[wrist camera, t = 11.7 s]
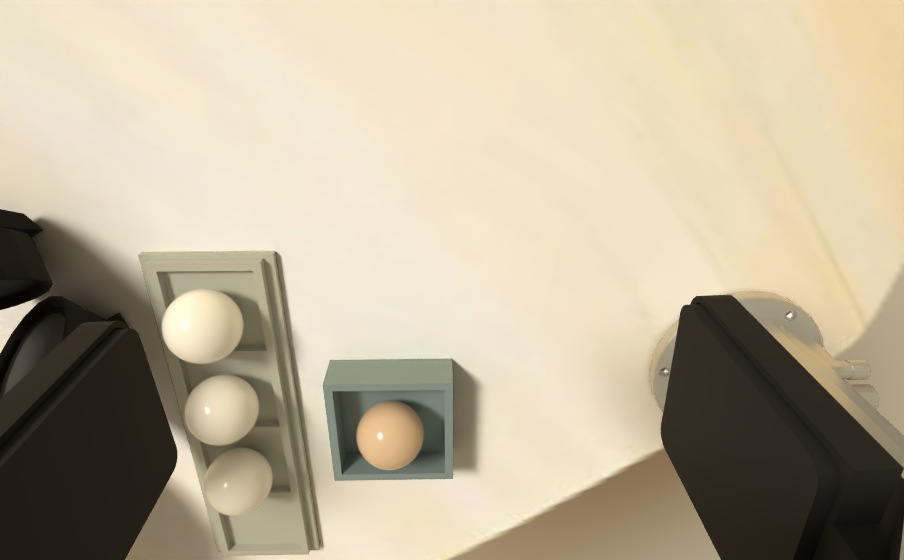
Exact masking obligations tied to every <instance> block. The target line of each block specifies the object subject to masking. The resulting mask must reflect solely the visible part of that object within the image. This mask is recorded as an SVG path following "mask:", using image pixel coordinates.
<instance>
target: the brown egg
mask: <svg viewBox="0 0 904 560" xmlns="http://www.w3.org/2000/svg"><path fill="white" fill-rule="evenodd" d="M356 438H357V445H358V448H359V451H360V453H361V454H362V456H363V457H364V459H365V460H366V461H367V462H368V463H370V464H371V465H373V466H374V467H376V468H379V469H383V470H396V469H400V468H402V467H404V466H406V465H408V464H409V463H411V462H412V461H413V460H414V459H415V458H416V457H417V455H418V454H419V452H420V450H421V448H422V445H423V441H424V428H423V424H422V421H421V419H420V417H419V415H418V414H417V412H416V411H415V410H414V409H413V408H412V407H410V406H409V405H407V404H405V403H403V402H400V401H395V400H387V401H383V402H380V403H377V404H375V405H373V406H372V407H371V408H369V409H368V410H367V411H366V412H365V413H364V415H363V416H362V418H361V420H360V421H359V424H358V427H357V434H356Z"/></svg>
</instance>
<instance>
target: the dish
mask: <svg viewBox="0 0 904 560" xmlns="http://www.w3.org/2000/svg"><path fill="white" fill-rule="evenodd" d="M323 390H324V398H325V406H326V414H327V422H328V430H329V438H330V446H331V454H332V462H333V470H334V478H335V481H341V480H406V479H453V371H452V359H402V360H330V362H329V366H328V369H327V372H326V376H325V379H324V382H323ZM387 400H395V401H400V402H403V403H405V404H407V405H409V406H410V407H412V408H413V409H414V410H415V411H416V412H417V414H418V415H419V417H420V419H421V421H422V424H423V428H424V441H423V445H422V448H421V450H420V452H419V454H418V455H417V457H416V458H415V459H414V460H413V461H412V462H411V463H409V464H408V465H406V466H404V467H402V468H400V469H396V470H383V469H379V468H376V467H374V466H373V465H371V464H370V463H368V462H367V461H366V460H365V459H364V457H363V456H362V454H361V453H360V451H359V448H358V445H357V438H356V434H357V427H358V424H359V421H360V420H361V418H362V416H363V415H364V413H365V412H366V411H367V410H368V409H369V408H371V407H372V406H373V405H375V404H377V403H380V402H383V401H387Z"/></svg>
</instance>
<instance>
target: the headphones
mask: <svg viewBox="0 0 904 560" xmlns="http://www.w3.org/2000/svg"><path fill="white" fill-rule="evenodd" d="M41 231H43V229H41V228H40V227H39V226H38V225H37V224H35V223H34V222H33V221H32V220H30V219H29V218H28V217H27V216H26V215H24V214H22V213H17V212H11V211H6V210H1V209H0V310H2V309H6V308H9V307H13V306H17V305H19V304H22V303H25V302H27V301H30V300H33V299H36V298H38V297H39V296H41V295H43V294H45V293H47V292H48V291H49V290H50V288H51V287H52V285H53V283H52V281H51V279H50V276H49V274H48V272H47V270H46V268H45V265H44V263H43V261H42V259H41V257H40V254H39V252H38V250H37V248H36V246H35V243H34V241H33V239H32V238H31V237H33V236H35V235H36V234H38V233H40V232H41ZM108 321H121V322H123V323H125V324H126V322H125V321H124V319H123V318H122V316H121V315H120V313H118V314H116V315H114V316H112V317H111V318H109V319H107V320H104V319H103V318H101V317H99V316H97V315H95V314H93V313H92V312H90V311H88V310H86V309H84V308H82V307H80V306H78V305H77V304H75V303H73V302H71V301H69V300H67V299H65V298H63V297H61V296H50V297H48V298H46V299H45V300H43V301H41V302H39V303H38V304H37V305H36V306H35V307H34V308H33V309H32V310H31V311H30V312H29V313H28V314H27V315H25V317H24V318H23V319H22V321H21V322H20V323H19V325H18V326H17V327H16V329H15V330H14V331H13V333H12V334H11V336H10V338H9V339H8V341H7V343H6V345H5V346H4V348H3V350H2V352H1V353H0V399H1V398H2V397H3V396H4V395H5V394H6V393H7V392H8V391H9V390H10V389H11V388H12V387H14V386H15V385H16V384H17V383H18V382H19V381H20V380H21V379H22V378H23V377H24V376H25V375H26V374H28V373H29V372H30V371H31V370H32V369H33V368H34V367H35V366H36V365H37V364H38V363H39V362H40V361H42V360H43V359H44V358H45V357H46V356H47V355H48V354H49V353H50V352H51V351H52V350H53V349H54V348H56V347H57V346H58V345H59V344H60V343H61V342H62V341H63V340H64V339H65V338H66V337H67V336H68V335H70V334H71V333H72V332H73V331H74V330H75V329H76V328H77V327H78V326H79V325H81V324H83V323H87V322H108ZM126 325H127V324H126ZM127 326H128V325H127ZM128 328H129V327H128ZM129 329H130V328H129Z"/></svg>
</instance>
